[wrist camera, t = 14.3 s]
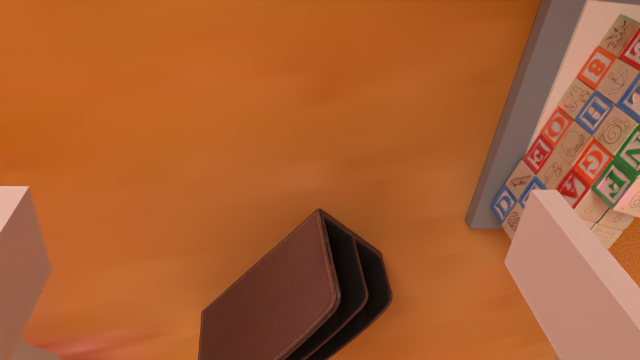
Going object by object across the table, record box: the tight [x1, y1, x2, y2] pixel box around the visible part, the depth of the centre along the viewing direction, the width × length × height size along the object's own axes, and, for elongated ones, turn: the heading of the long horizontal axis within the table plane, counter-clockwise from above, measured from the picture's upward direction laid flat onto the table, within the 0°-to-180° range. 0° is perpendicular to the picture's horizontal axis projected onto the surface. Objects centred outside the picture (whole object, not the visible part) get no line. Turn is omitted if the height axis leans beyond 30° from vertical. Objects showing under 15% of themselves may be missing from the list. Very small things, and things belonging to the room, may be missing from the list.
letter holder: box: [198, 209, 393, 360], centre depth 54 cm, size 10×20×14 cm, turn 136°
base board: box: [465, 0, 640, 230], centre depth 50 cm, size 27×13×2 cm, turn 173°
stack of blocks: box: [490, 14, 640, 250], centre depth 45 cm, size 21×6×12 cm, turn 158°
